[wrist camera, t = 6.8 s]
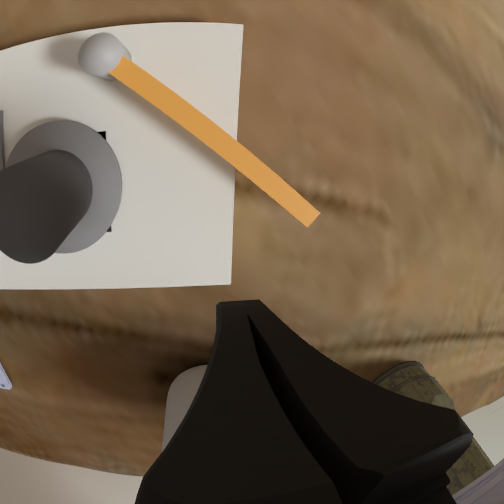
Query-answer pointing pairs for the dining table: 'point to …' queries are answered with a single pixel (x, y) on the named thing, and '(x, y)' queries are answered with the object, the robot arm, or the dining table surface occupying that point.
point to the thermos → (430, 391)
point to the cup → (181, 399)
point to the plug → (57, 191)
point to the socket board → (136, 153)
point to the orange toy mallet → (188, 119)
